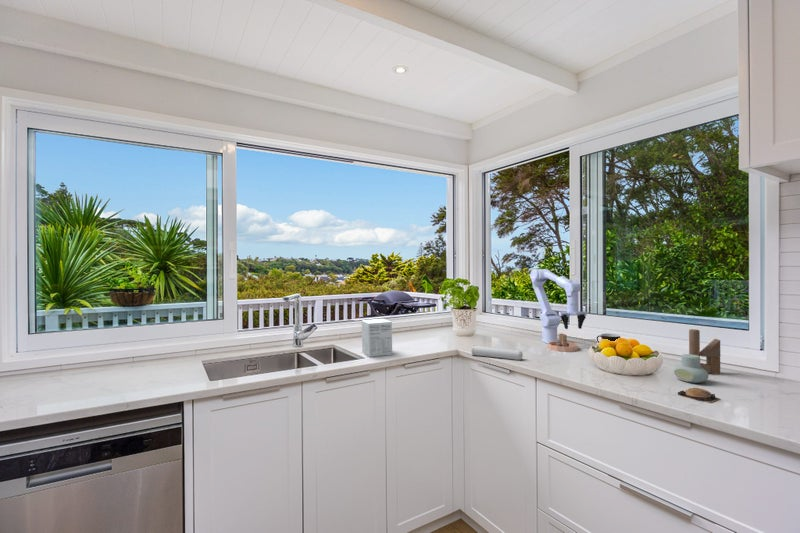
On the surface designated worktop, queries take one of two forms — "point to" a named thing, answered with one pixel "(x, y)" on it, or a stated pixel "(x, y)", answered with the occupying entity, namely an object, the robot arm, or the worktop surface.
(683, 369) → the air freshener
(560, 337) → the tan rectangular block
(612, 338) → the coffee mug
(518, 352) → the tube
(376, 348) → the supplement box
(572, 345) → the candle dish
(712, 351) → the brown wooden sculpture
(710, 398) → the brown domed oval piece
